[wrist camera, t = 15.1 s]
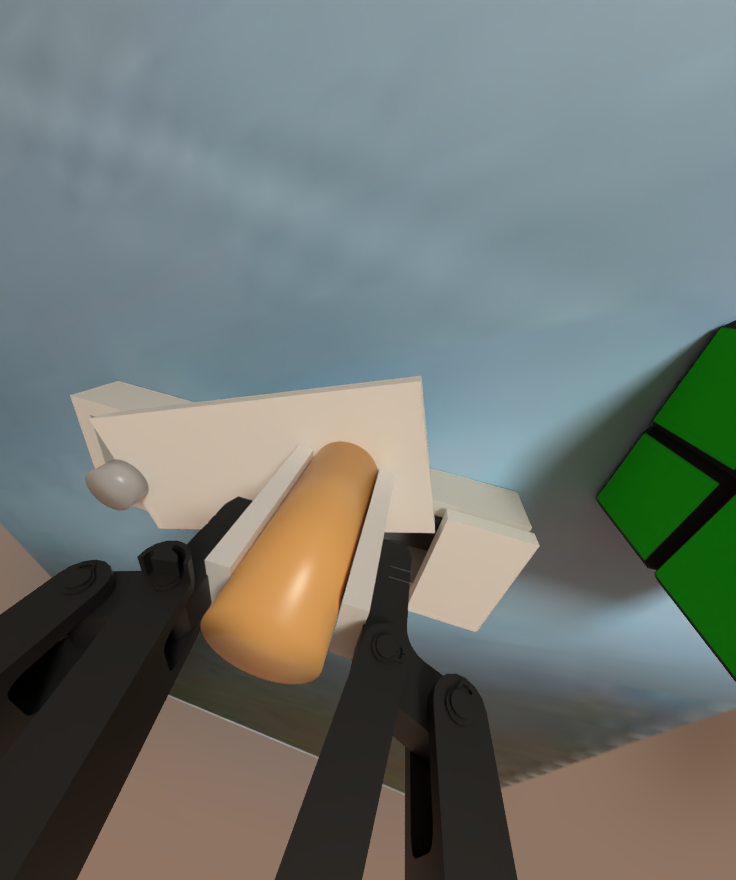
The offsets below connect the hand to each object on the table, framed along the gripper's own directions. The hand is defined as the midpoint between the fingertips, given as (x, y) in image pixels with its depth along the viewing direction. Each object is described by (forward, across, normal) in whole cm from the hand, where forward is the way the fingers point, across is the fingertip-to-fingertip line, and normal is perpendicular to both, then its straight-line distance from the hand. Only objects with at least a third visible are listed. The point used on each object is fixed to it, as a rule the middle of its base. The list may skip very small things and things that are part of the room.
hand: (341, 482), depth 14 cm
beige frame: (+5, -4, -5) cm, 7 cm away
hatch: (+1, -5, -2) cm, 6 cm away
